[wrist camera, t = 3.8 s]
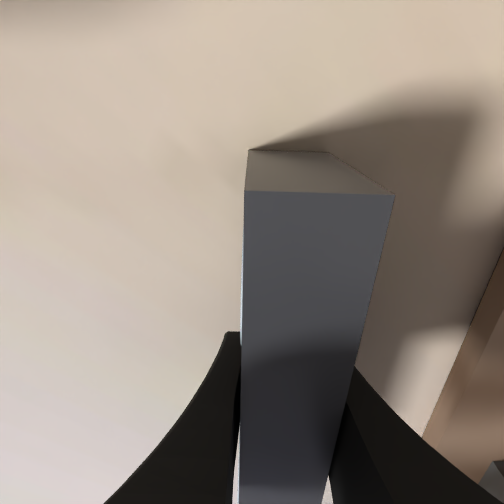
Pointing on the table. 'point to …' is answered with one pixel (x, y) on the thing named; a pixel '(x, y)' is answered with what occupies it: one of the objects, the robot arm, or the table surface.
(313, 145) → the table surface
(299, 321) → the long gray beam
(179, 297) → the table surface
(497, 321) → the display stand
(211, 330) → the table surface
